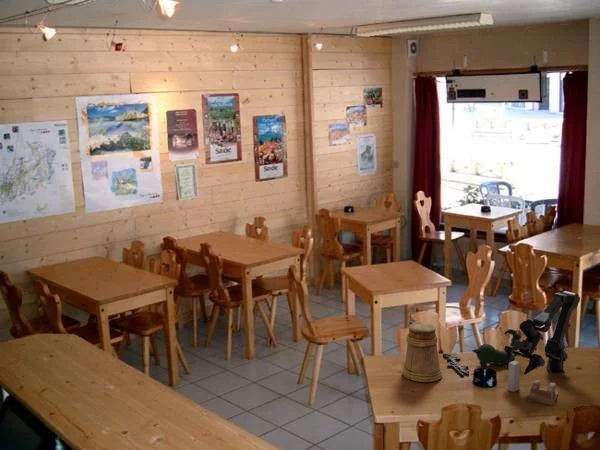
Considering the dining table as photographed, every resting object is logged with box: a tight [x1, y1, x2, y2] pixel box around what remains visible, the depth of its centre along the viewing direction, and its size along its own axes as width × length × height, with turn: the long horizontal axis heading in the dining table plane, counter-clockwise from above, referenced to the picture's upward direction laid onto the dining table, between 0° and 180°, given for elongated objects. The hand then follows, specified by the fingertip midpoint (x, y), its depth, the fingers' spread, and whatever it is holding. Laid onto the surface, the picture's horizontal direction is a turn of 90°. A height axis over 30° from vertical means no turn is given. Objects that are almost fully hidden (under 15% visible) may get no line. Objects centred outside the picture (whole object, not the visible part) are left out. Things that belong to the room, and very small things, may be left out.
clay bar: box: [507, 360, 522, 393], centre depth 324 cm, size 4×3×13 cm, turn 128°
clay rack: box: [526, 379, 559, 406], centre depth 316 cm, size 12×11×6 cm
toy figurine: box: [472, 328, 522, 368], centre depth 352 cm, size 9×19×25 cm
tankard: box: [402, 317, 443, 383], centre depth 342 cm, size 18×24×25 cm
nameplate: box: [442, 353, 470, 378], centre depth 353 cm, size 28×2×10 cm
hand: (515, 371), depth 324 cm, fingers open, 9 cm apart
